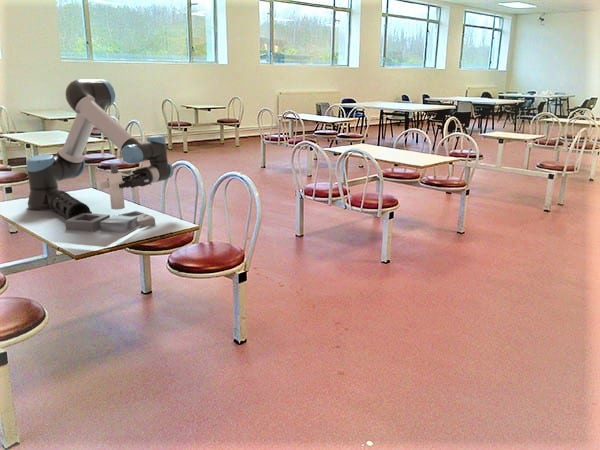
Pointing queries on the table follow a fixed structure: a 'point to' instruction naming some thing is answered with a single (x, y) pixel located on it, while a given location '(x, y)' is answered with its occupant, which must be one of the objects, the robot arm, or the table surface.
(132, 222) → the stand
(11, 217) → the table surface
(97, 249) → the table surface
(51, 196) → the muzzle brake
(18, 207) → the table surface
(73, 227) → the socket block
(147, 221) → the handheld gaming device
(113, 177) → the white bottle
